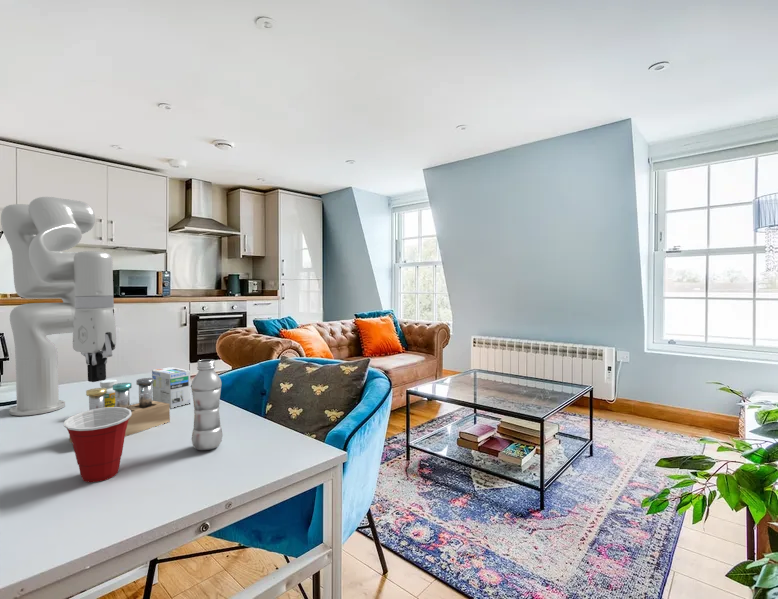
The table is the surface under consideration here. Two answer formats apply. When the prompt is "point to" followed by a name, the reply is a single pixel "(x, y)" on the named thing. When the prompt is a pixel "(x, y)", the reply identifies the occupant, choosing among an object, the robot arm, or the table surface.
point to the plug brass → (96, 398)
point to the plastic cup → (98, 441)
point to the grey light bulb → (145, 392)
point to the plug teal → (122, 395)
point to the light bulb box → (171, 386)
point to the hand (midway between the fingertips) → (97, 380)
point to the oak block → (146, 417)
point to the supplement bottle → (109, 392)
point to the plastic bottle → (206, 406)
